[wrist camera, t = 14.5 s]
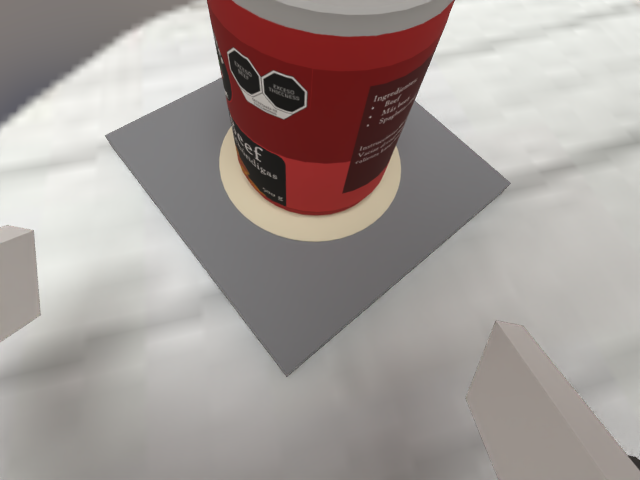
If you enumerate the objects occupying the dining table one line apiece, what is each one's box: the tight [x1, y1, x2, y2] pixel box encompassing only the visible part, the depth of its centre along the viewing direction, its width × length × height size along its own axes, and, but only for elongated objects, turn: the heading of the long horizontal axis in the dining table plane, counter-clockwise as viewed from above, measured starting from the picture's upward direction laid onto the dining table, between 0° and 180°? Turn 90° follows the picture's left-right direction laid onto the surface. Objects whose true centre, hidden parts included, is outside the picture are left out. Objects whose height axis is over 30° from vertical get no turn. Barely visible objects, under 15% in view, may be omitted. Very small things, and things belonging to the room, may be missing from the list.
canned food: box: [207, 0, 455, 216], centre depth 16 cm, size 8×8×11 cm
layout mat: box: [105, 78, 511, 377], centre depth 21 cm, size 16×16×1 cm
